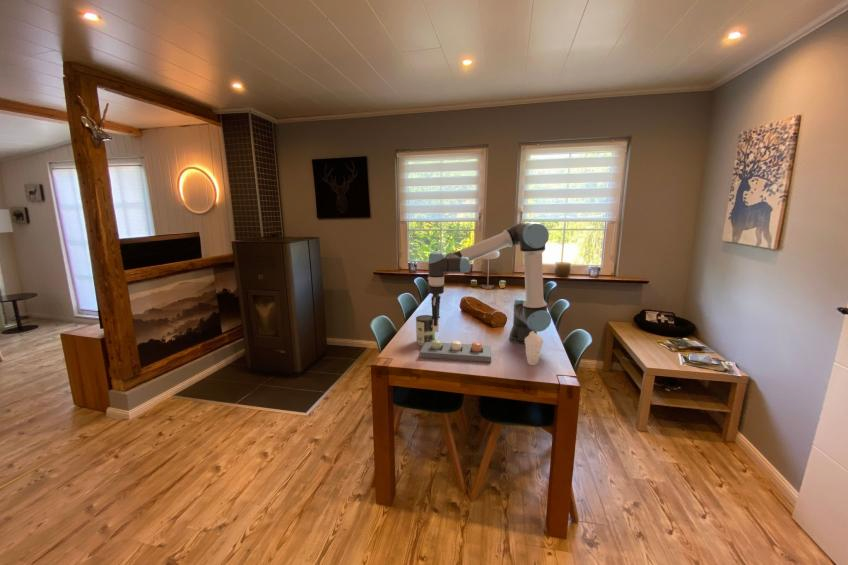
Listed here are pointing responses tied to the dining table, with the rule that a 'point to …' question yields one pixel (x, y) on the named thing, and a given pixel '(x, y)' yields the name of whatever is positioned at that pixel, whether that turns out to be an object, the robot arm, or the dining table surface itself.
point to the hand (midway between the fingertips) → (435, 331)
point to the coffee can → (424, 329)
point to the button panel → (456, 353)
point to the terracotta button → (476, 347)
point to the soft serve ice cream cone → (533, 347)
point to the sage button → (436, 345)
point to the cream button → (455, 346)
